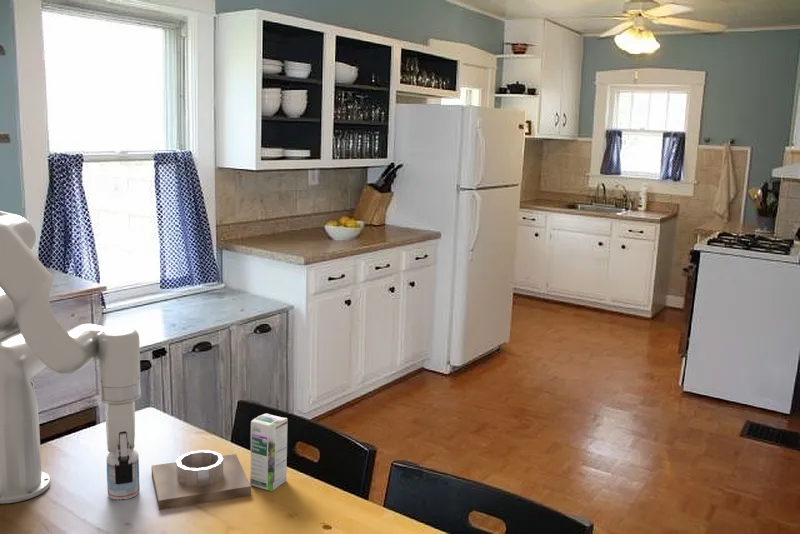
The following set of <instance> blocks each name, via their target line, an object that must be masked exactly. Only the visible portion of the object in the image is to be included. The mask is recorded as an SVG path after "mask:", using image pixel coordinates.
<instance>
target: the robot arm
mask: <svg viewBox="0 0 800 534" xmlns="http://www.w3.org/2000/svg"><path fill="white" fill-rule="evenodd" d="M36 241H37V235H36V231H35V228H34V227H33V225H32V224H31V223H30V222H29V221H28V220H27V219H26V218H25V217H22V216H21V215H19V214H15V213H12V212H6V211H2V210H0V504H12V503H19V502H24V501H26V500H30V499H33V498H35V497H37V496H39V495H41V494H43V493H44V492H45V491H46V490H48V489H49V488H50V486H51V477H50V474H48V473H47V472H44V471H42V456H41V455H42V453H41V439H40V438H41V437H40V435H41V434H40V417H39V404H38V398H37V394H36V391H35V389H34V387H33V384H32V378H33V377H34V376H35V375H36V374H38V373H40V372H41V371H42V370H44V369H46V368H47V367H48V368H49V370H50V371H53V372H55V373H57V374H60V375H71V374H75V373H77V372H78V371H80V370H82V369H84V368H85V367H86V366H87V365H89V364H91V363H93V362H96V361H98V373H99V399H100V401H101V402H102V403H104V404H105V429H106V446H107V452H108V453H112V452H114V451H115V450H116V451H115V452H116V465H115V483H116V484H124V483H131V482H132V481H133V469H132V462H131V450H132V449H133V448H134V449H135V447H134V445H135V439H136V438H135V436H136V407H135V406H136V403H135V402H136V401H137V400H139V399H140V398H141V397H142V394H141V393H142V389H141V385H142V384H141V351H140V335H139V332H138V331H137V330H135V328H131V327H122V326H121V327H109V326H102V325H100V324H99V325H98V324H94V323H81V324H79V325H76V326H74V327H72V328H70V329H68V330H66V328H65V327H64V326H62V324H61V323H60V322H59V320H58V319H57V317H56V315H55V314H54V312H53V309H52V307H51V303H50V295H51V294H50V293H51V289H52V285H53V276H52V274H51V273H50V271H49V270H48V269H47V268H46V267H45V266H44V264H43V263H42V262H41V260H39V259H38V257H37V256H36V255H35V253H34V252H33V251H32V249H33V247H34V246H35V244H36ZM127 445H128V448H127ZM119 446H120V449H118V447H119ZM127 452H128V454H127ZM119 453H121V456H119Z"/></svg>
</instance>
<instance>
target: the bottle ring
mask: <svg viewBox="0 0 800 534" xmlns="http://www.w3.org/2000/svg"><path fill="white" fill-rule="evenodd" d="M222 456H223V455H222V454H221V453H219V452H216V451H213V450H204V449H201V450H194V451H189V452H187V453H184V454H182V455H181V456H179V457H178V458H177V459H176V460H175V462H176V470H177V480H178V482H180V483H182V484H184V485H187V486H204V485H209V484H212V483H214V482H216V481H219V480H220V479H221V477H222V476H223V458H222ZM200 467H205V468H200ZM197 468H198V469H197Z"/></svg>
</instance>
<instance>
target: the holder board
mask: <svg viewBox="0 0 800 534" xmlns="http://www.w3.org/2000/svg"><path fill="white" fill-rule="evenodd" d="M222 458H223V476H222V477H221V479H220V480H219V481H216V482H214V483H212V484H209V485H204V486H187V485H184V484H182V483H180V482H178V480H177V470H176V461H174V462H169V463H161V464H154V465H153V464H152V465H151V477H152V481H153V482H152V483H153V487H154V493H155V499H156V502H157V507H158V511H161V510H167V509H174V508H180V507H186V506H192V505H199V504H206V503H211V502H217V501H224V500H229V499H230V500H231V499H236V498H242V497H247V496H252V486H251V485H250V481H249V479H248V477H247V475H246V473H245V471H244V469H243V466H242V464H241V462H240V460H239V457H238V455H237V454H236V453H232V454H227V455H226V454H225V455H222ZM200 468H205V467H200ZM197 469H198V468H197Z"/></svg>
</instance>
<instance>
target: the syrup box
mask: <svg viewBox="0 0 800 534" xmlns="http://www.w3.org/2000/svg"><path fill="white" fill-rule="evenodd" d="M287 457H288V418H287V417H283V416H282V417H281V416H277V415H273V414H270V413H263V414H261V415H258V416H257V417H254V418H253V419H252V420H251V421H250V477H249V480H250V481H249V483H250V485H251V487H255V488H260V489H262V490H266V491H269V492H273V491H275V490H276V489H277V488H279V487H280V486H282V484H284V483H286V481H287V468H288V467H287V466H288V465H287V463H288V462H287V460H288V459H287Z"/></svg>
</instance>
